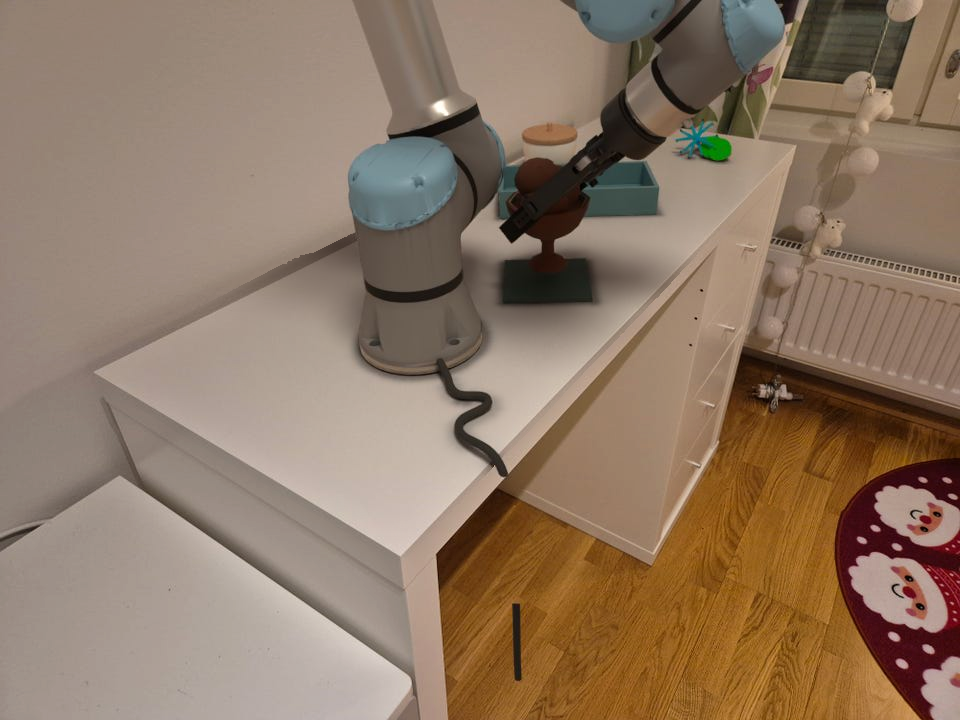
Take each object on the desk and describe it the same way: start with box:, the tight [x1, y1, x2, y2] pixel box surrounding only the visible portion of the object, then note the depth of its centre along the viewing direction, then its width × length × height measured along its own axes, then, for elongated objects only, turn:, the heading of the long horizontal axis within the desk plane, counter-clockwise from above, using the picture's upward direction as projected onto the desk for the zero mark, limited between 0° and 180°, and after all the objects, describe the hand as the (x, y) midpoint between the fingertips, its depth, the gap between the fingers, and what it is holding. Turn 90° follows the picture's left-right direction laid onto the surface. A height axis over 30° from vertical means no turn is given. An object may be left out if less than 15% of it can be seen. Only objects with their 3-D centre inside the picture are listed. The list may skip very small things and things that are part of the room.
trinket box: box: [521, 122, 578, 164], centre depth 129 cm, size 11×11×9 cm
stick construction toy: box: [674, 118, 733, 162], centre depth 134 cm, size 12×7×8 cm
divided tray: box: [498, 160, 660, 220], centre depth 116 cm, size 14×26×5 cm, turn 87°
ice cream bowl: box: [506, 157, 590, 273], centre depth 87 cm, size 11×11×15 cm
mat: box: [502, 257, 594, 304], centre depth 93 cm, size 12×12×1 cm
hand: (529, 219), depth 90 cm, fingers closed on ice cream bowl, 11 cm apart
